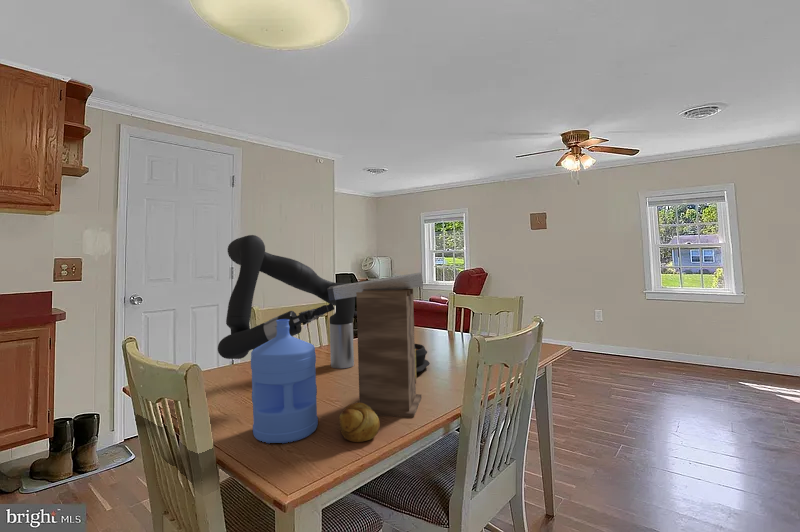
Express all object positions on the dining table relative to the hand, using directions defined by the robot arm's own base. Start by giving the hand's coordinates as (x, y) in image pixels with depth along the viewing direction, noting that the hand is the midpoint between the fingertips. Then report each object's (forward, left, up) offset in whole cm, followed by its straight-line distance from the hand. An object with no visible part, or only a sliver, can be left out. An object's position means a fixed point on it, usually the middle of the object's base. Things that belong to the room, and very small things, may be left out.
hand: (330, 307), depth 124 cm
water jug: (+25, -3, -28) cm, 38 cm away
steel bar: (+2, +15, +5) cm, 16 cm away
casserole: (-34, +17, -28) cm, 47 cm away
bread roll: (+24, +16, -28) cm, 40 cm away
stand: (+5, +19, -28) cm, 34 cm away
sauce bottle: (-15, +21, -28) cm, 38 cm away
